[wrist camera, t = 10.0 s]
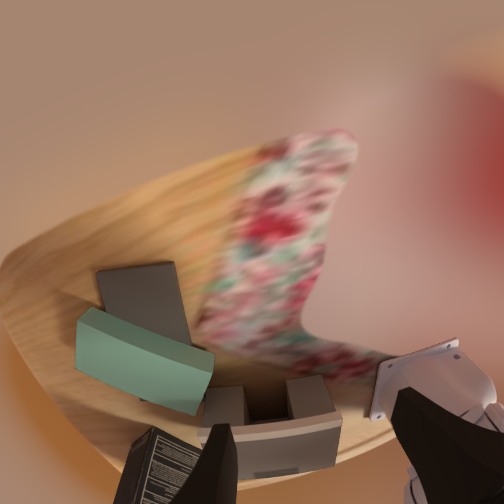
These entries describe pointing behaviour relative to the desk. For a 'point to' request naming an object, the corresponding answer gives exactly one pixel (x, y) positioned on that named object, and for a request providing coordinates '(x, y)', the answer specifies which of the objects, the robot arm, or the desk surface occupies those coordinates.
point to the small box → (155, 469)
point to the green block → (142, 361)
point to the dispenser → (278, 429)
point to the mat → (146, 299)
